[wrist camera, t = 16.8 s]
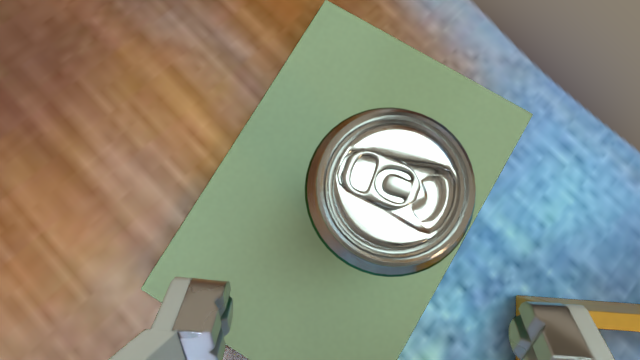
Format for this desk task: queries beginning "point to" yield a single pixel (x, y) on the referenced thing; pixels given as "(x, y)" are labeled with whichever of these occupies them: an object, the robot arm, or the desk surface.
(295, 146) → the green mat
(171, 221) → the desk surface
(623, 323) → the frame
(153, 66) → the desk surface
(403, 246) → the soda can
